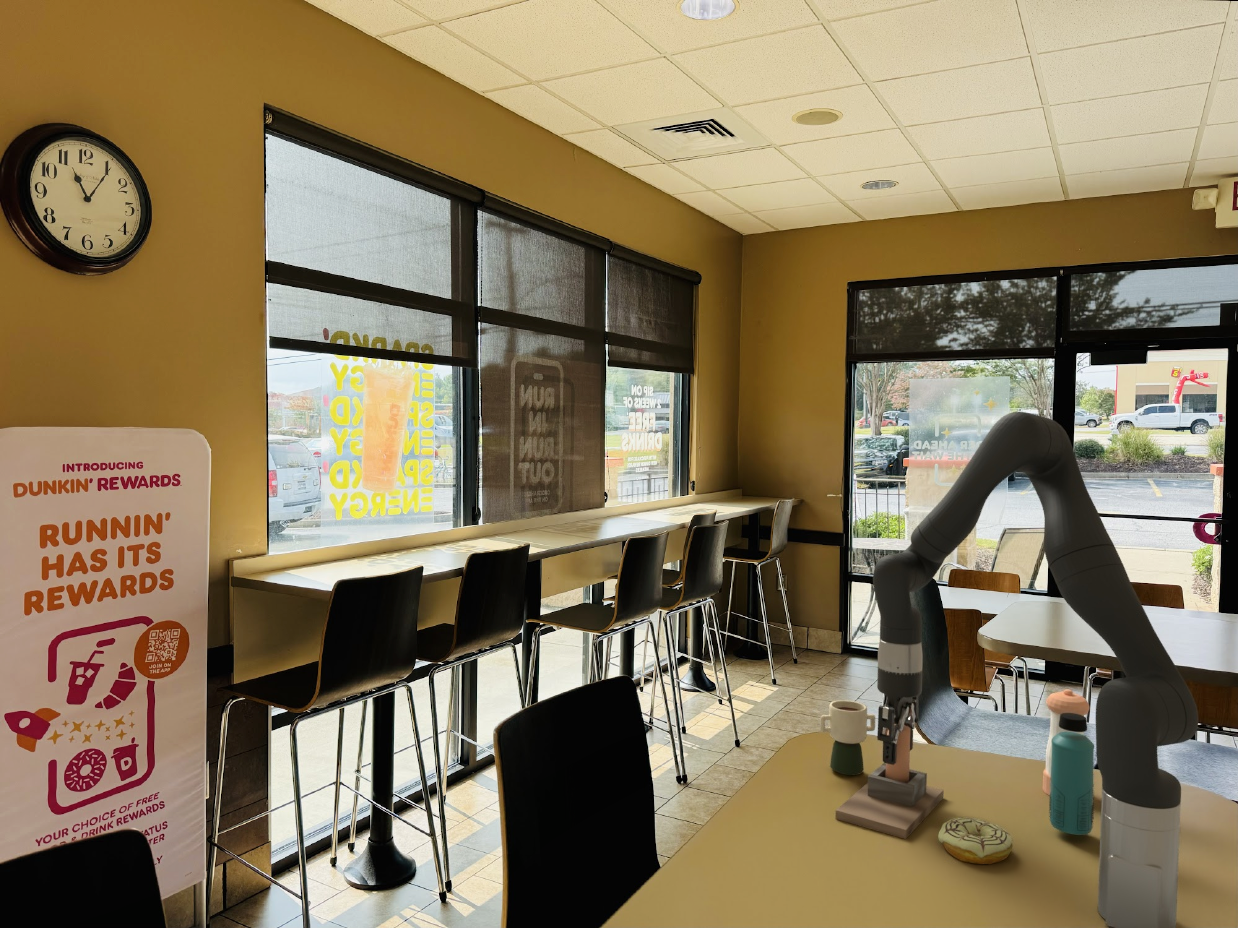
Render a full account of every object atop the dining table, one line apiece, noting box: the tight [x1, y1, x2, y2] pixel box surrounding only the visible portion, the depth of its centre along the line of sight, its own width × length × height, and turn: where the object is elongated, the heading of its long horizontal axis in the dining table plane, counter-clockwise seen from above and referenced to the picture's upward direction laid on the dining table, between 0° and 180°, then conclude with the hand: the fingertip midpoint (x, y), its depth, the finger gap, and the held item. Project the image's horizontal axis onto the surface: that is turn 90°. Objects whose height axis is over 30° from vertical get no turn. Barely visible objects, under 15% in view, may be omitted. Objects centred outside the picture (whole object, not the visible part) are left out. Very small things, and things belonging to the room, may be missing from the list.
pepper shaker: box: [1042, 688, 1090, 796], centre depth 163 cm, size 7×7×19 cm
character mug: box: [819, 699, 876, 776], centre depth 172 cm, size 11×7×13 cm, turn 95°
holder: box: [835, 762, 944, 840], centre depth 156 cm, size 20×12×5 cm, turn 143°
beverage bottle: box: [1048, 713, 1095, 836], centre depth 146 cm, size 6×7×20 cm
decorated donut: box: [938, 816, 1014, 865], centre depth 141 cm, size 10×11×4 cm
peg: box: [885, 724, 911, 783], centre depth 158 cm, size 4×4×12 cm
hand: (898, 756), depth 158 cm, fingers open, 8 cm apart
